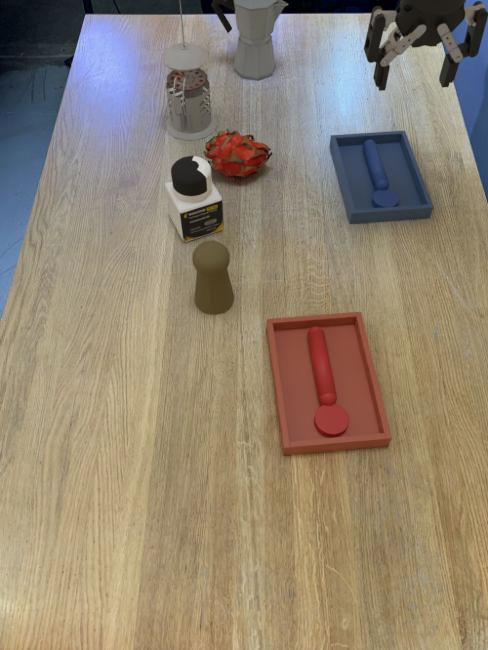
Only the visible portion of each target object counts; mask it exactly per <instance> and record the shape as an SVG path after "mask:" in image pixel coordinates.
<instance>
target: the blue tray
mask: <svg viewBox="0 0 488 650" xmlns="http://www.w3.org/2000/svg"><path fill="white" fill-rule="evenodd" d="M367 140H373V141H375V143H376V145H377V148H378V151H379V154H380V157H381V160H382V163H383V166H384V169H385V172H386V175H387V178H388V181H389V188H388V189H390V190H393V191H394V192H396V193H397V194H398V196H399V203H398V206H397V207H384V208H374V206H373V205H372V197H373V194H374V192H375V191H377V190H376V188H375V186H374V182H373V179H372V176H371V173H370V170H369V166H368V163H367V160H366V157H365V154H364V150H363V144H364V142H365V141H367ZM328 148H329V150H330V154H331V158H332V162H333V166H334V169H335V170H334V171H335V175H336V178H337V181H338V185H339V187H340V188H339V189H340V193H341V197H342V201H343V204H344V209H345V211H346V216H347V219H348V224H349V225H353V224H354V225H355V224H369V223H381V222H382V223H383V222H395V221H409V220H411V221H412V220H424V219H431V217H432V214H433V211H434V208H435V207H434V204H433V201H432V198H431V196H430V193H429V191H428V189H427V186H426V183H425V180H424V178H423V175H422V173H421V169H420V166H419V164H418V161H417V159H416V157H415V154H414V150H413V148H412V145H411V143H410V141H409V137H408V135H407V132H406V130H392V131H391V130H390V131H377V132H361V133H346V134H345V133H344V134H332V135H331V134H330V139H329V146H328Z"/></svg>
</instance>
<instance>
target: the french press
mask: <svg viewBox="0 0 488 650" xmlns="http://www.w3.org/2000/svg"><path fill="white" fill-rule="evenodd" d="M179 12H180V22H181V23H180V24H181V34H182V42H178V43H175V44H173V45H171V46H169V47H168V48H165V50H164V51H163V53H162V54H161V62H162V64H163V65H164V66H165V67H166V68H168V69H169V70H171V71H170V72H169V73H168V75H167V76H166V85H165V89H166V90H165V91H166V98H167V105H168V111H169V112H168V113H169V116H168V118H167V119H166V121H165V128H166V130H167V132H168V134H169V135H171V136H173V138H176V139H179V140H182V141H198V140H202V139H205V138H207V137H209V136H210V135H211V134H213V133H214V131H215V130H216V128H217V127H218V123H217V122H218V120H217V118H216V116H215V115H214V113H212V107H211V106H212V102H211V95H210V94H211V88H210V87H211V86H210V81H209V80H208V74H207V73H206V71H205V70H203V69H202V68H201V67H203V66H204V65H205V64H206V63H207V61H208V60H209V52H208V51H207V49H206V48H205V47H204V46H201V45H200V44H198V43H197V44H196V43H193V42H187V41H185V31H184V21H183V10H182V0H179ZM169 89H172V90H170V91H169ZM205 89H206V90H205ZM181 92H182V93H181ZM178 93H180V94H178ZM176 94H178V95H176Z"/></svg>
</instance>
